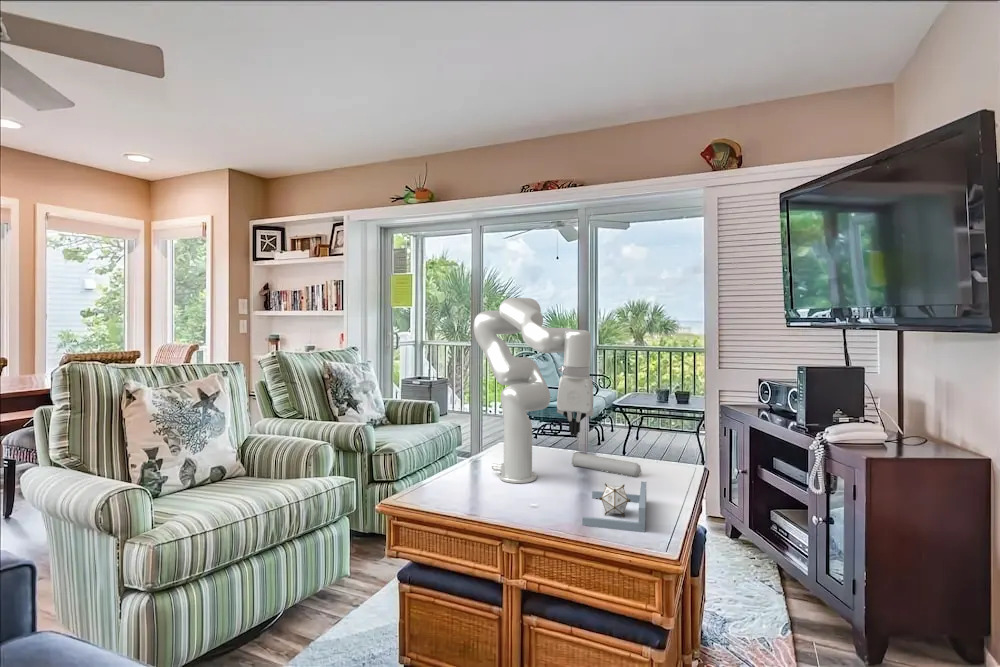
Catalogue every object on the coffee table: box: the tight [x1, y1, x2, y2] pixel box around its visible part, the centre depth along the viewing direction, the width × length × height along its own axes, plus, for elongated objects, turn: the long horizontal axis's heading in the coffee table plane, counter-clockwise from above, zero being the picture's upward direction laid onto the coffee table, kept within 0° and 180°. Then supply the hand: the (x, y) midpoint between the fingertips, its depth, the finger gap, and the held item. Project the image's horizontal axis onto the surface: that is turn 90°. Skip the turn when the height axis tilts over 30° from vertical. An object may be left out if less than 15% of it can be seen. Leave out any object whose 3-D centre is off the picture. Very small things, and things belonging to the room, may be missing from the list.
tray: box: [581, 480, 647, 533], centre depth 145 cm, size 16×23×6 cm
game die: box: [598, 482, 631, 518], centre depth 145 cm, size 9×8×10 cm
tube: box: [571, 451, 642, 478], centre depth 187 cm, size 5×5×25 cm
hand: (574, 434), depth 155 cm, fingers closed
